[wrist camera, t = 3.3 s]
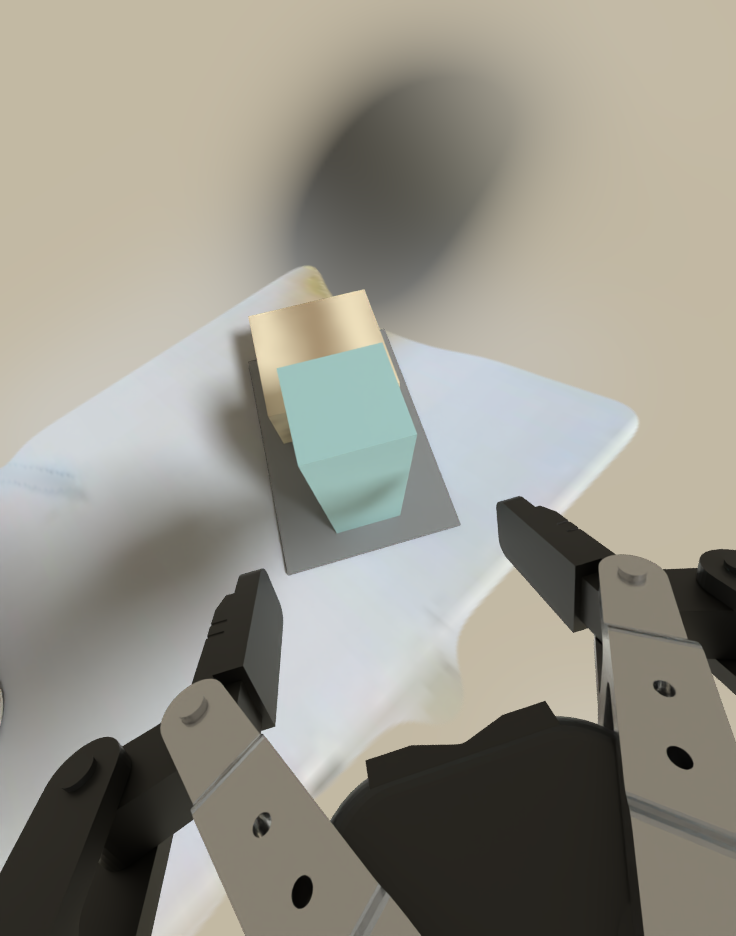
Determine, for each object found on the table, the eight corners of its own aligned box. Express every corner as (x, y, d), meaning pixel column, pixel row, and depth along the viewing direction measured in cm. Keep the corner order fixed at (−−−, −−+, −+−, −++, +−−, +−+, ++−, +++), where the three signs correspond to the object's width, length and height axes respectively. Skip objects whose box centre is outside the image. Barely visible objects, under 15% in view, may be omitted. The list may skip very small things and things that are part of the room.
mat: (288, 575, 23) (287, 574, 23) (249, 364, 30) (248, 361, 29) (459, 525, 24) (460, 524, 24) (384, 331, 30) (384, 328, 30)
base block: (283, 443, 26) (268, 416, 23) (264, 353, 30) (248, 316, 26) (397, 413, 27) (400, 382, 23) (366, 328, 30) (364, 289, 27)
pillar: (336, 533, 24) (298, 466, 12) (322, 474, 25) (276, 368, 14) (400, 515, 24) (417, 434, 13) (381, 458, 26) (382, 342, 14)
